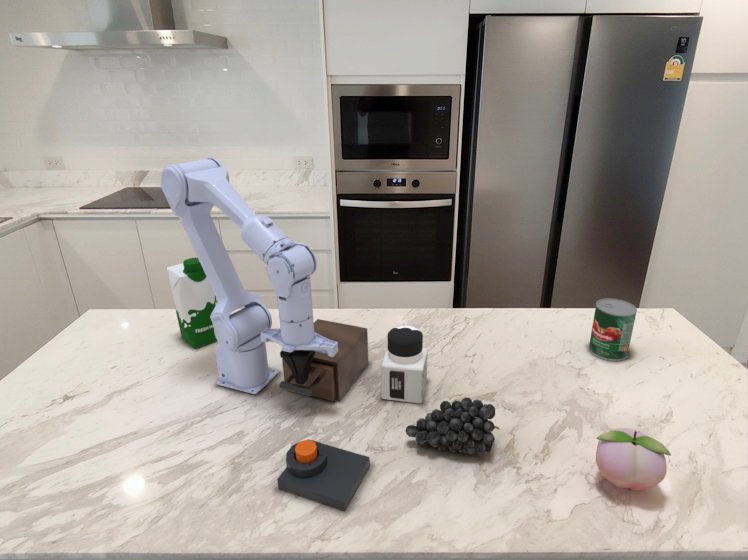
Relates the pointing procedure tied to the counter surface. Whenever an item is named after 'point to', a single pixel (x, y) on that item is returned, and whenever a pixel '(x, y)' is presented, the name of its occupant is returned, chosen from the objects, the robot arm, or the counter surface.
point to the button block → (325, 475)
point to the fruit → (457, 427)
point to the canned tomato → (612, 329)
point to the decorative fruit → (631, 459)
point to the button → (306, 451)
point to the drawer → (312, 381)
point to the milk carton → (193, 302)
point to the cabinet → (344, 352)
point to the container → (404, 366)
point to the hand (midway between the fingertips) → (302, 381)
